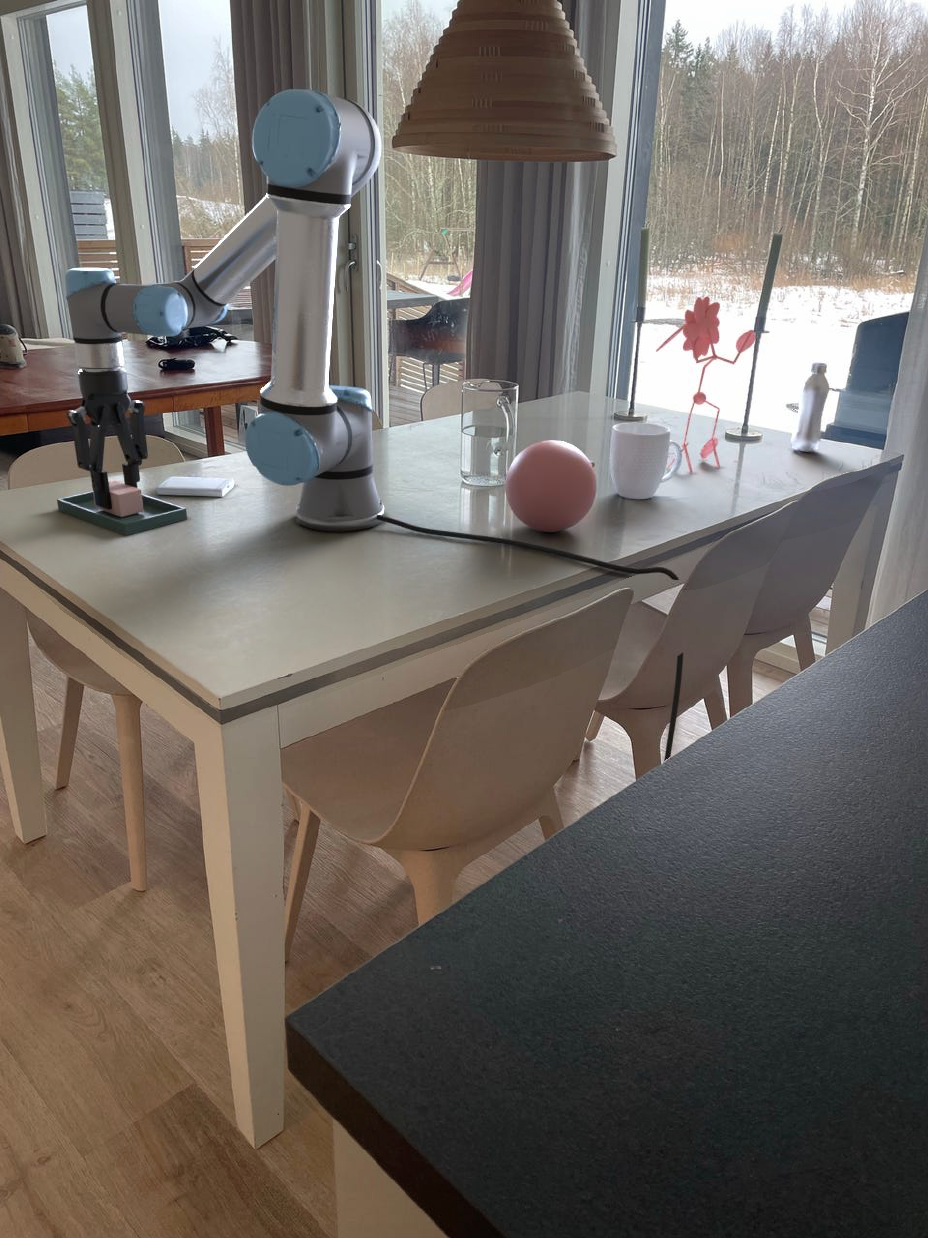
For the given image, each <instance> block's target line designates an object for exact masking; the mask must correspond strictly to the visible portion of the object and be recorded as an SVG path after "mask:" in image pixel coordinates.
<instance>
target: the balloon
mask: <svg viewBox="0 0 928 1238" xmlns="http://www.w3.org/2000/svg"><path fill="white" fill-rule="evenodd" d="M595 465H596V463H595V462H594V461H592V460H589V459H588V457H587V456H586V454H585V453H584V452H582V451H581V449H579V448H578V447H576V446H575V445H573V444H571V443H568V442H566V441H561V440H555V439H552V440H551V439H550V440H542V441H537V442H535V443H532V444H531V445H528V446H527V447H526V448H524V449H522V450H521V451H520V452H519V453H518V454H517V455H516V456H515V458H514V459H513V460H512V462H511V464H510V466H509V468H508V470H507V473H506V477H505V482H504V483H505V484H504V485H505V487H504V488H505V497H506V500H507V503H508V505H509V508H510V510H511V511H512V513H513V515H514V516H515V517H516V518H517V519H518V520H519V521H520V522H522V523H523V524H524V525H526V526H527V527H528V528H531V529H533V530H536V531H540V532H545V533H556V532H561V531H565V530H568V529H570V528H572V527H574V526H576V525H577V524H578V523H580V522H581V521H582V520H583V519H584V518H585V517H586V516H587V514H588V513H589V512H590V510H591V509H592V507H593V504H594V502H595V499H596V495H597V494H596V493H597V487H598V486H597V476H596V472H595V469H594V467H595Z"/></svg>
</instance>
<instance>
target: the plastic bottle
mask: <svg viewBox="0 0 928 1238" xmlns="http://www.w3.org/2000/svg"><path fill="white" fill-rule="evenodd" d="M827 369H828V364H827V363H825V362H810V364H809V369H808V372H809V374H808V375H806V377H805V378H804V379H803V380H802V382H801V383H800V386H799V403H798V412H797V419H796V422H795V427H794V430H793V431H792V434H791V440H790V441H791V442H790V445H791V447H792V449H793V450H796V451H799V452H803V453H808V452H815V451H816V450H817V449H818V448H819V446H820V445H821V444H820V443H821V438H822V436H821V433H822V432H821V429H822V427H821V426H822V417H823V412H824V408H825V404H826V401H827V398H828V394H829V392H830V384H829V382H828V379H827V377H826V375H825V374H826V373H827Z"/></svg>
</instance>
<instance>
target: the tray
mask: <svg viewBox="0 0 928 1238" xmlns="http://www.w3.org/2000/svg"><path fill="white" fill-rule="evenodd" d="M141 494H142V502H143V510H144V511H143V512H139V513H135V514H131V515H127V516H124V517H119V516H117V515H114V514H111V513H109V512H106V511H103V510H101V509H98V508H95V503H94V496H93V490H92V491H88V492H84V493H79V494H74V495H70V496H66V497H61V498H57V499H56V504H57V508H58V511H60V512H63V513H64V514H67V515H71V516H72V517H75V518H79V519H82V520H83V521H86V522H89V523H92V524H94V525H97V526H99V527H102V528H105V529H107V530H109V531H113V532H115V533H118V534H121V535H123V536H127V537H128V536H131V535H134V534H138V533H143V532H146V531H150V530H153V529H156V528H160V527H164V526H168V525H171V524H174V523H179V522H182V521H186V520H188V513H187V512H188V511H187V508H186V507H184V506H181V505H178V504H174V503H171V502H168V501H165V500H162V499H159V498H155V497H153V496H149V495H147V494H143V493H141Z"/></svg>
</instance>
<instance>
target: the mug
mask: <svg viewBox="0 0 928 1238" xmlns="http://www.w3.org/2000/svg"><path fill="white" fill-rule="evenodd" d="M611 430H612V431H611V437H610V450H609V451H610V452H609V469H610V470H609V472H610V476H611V481H612V485H613V487H614V489H615V491H616V493H617V494H618V495H619V496H620V497H621V498H625V499H628V500H646V499H647V500H648V499H650V498H652V497H653V496H654V495H655V494H656V492H657V490H658V489H659V487H660V485H661V484H662V483H665V482H668V481H669V480H671V479H673V478H674V477H675V476H676V475H677V474H678V472H679V470H680V468H681V465H682V460H683V451H681V450H682V449H681V448H682V447H681V446H680V445H679V444H678V443H677V441H675V440H673V439H671V431H672V430H671V429H670V427H667V426H665V425H661V424H656V423H648V422H647V423H646V422H623V423H617V424H614V425H613V426H612V429H611ZM670 446H672V447H673V449H674V452H675V457H676V458H675V457H674V459H675V461H674V462H673V466H672V468H671V469H670V471H669V472H668V473H666V474H665V472H666V468H667V464H668V458H669V455H670V453H669V451H670Z"/></svg>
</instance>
